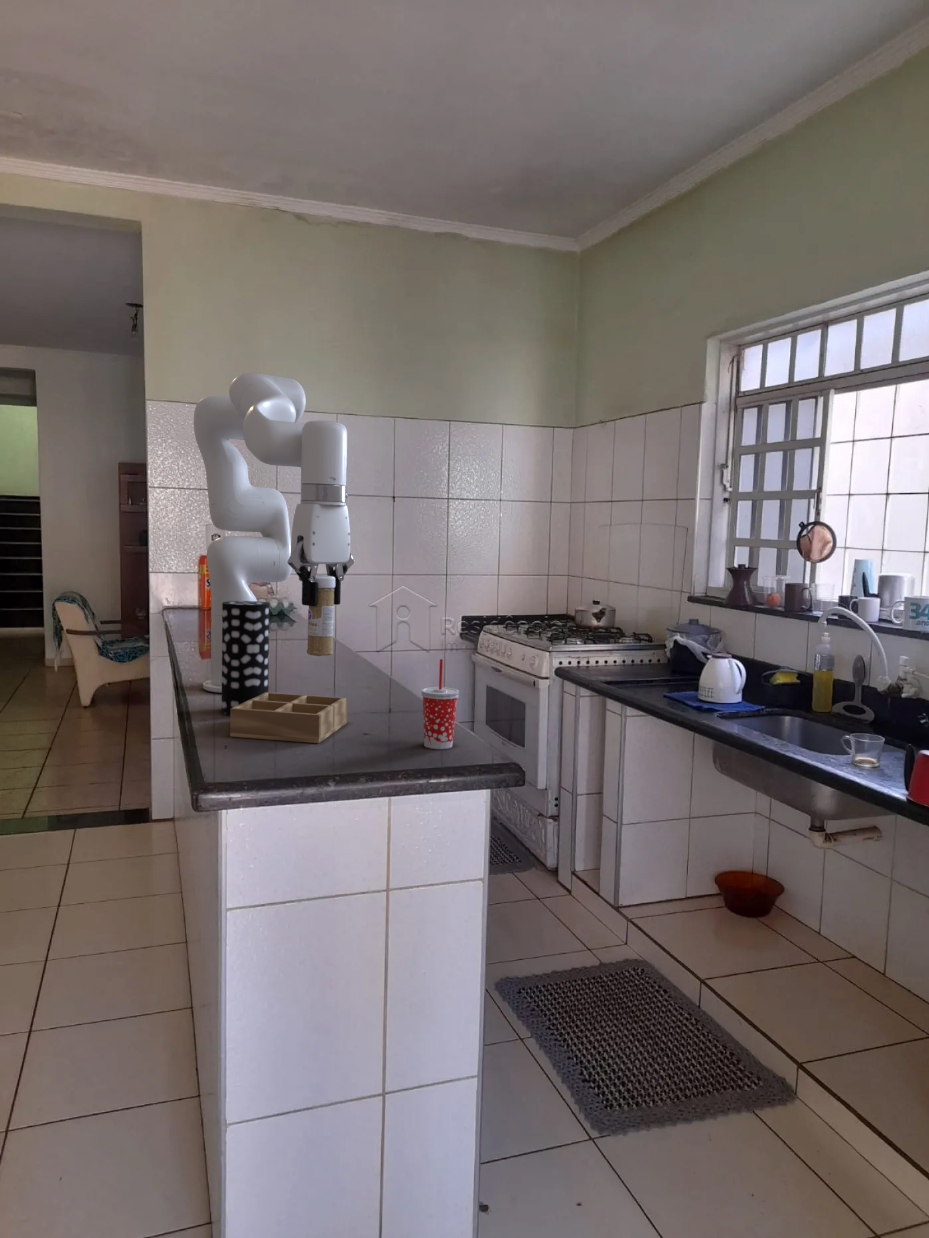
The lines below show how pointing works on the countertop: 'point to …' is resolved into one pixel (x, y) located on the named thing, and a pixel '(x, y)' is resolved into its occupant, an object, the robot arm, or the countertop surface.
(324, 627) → the sprinkles bottle
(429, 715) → the beverage cup
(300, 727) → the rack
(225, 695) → the spotted tube
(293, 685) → the countertop surface
